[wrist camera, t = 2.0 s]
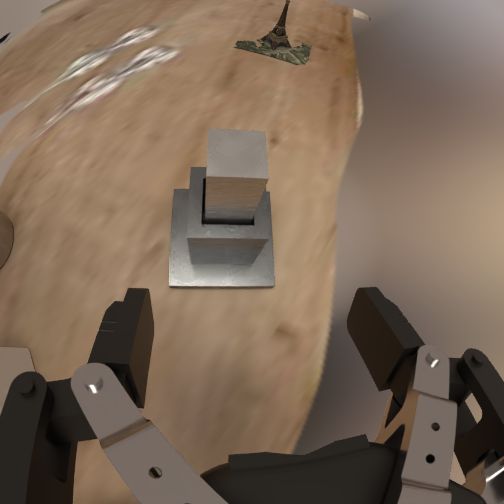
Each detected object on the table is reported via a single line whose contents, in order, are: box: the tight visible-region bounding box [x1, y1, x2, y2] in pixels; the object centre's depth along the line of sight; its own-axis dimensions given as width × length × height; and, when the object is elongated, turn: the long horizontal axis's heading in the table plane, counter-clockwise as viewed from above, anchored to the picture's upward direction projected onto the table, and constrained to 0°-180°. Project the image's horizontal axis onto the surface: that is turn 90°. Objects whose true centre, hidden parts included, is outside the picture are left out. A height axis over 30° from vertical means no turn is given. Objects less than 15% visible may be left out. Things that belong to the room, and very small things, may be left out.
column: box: [205, 129, 269, 225], centre depth 27 cm, size 4×4×16 cm
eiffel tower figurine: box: [234, 0, 311, 65], centre depth 44 cm, size 15×10×13 cm
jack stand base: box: [169, 167, 275, 288], centre depth 31 cm, size 12×12×10 cm
